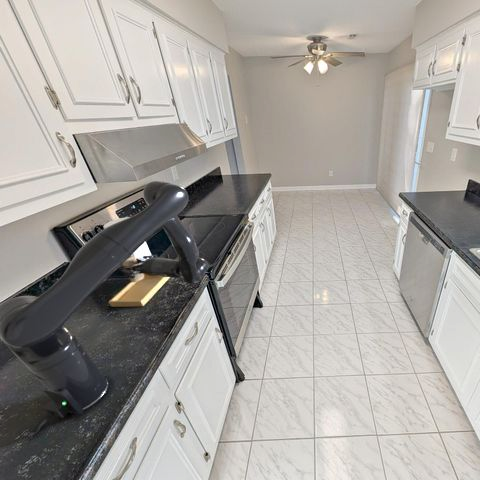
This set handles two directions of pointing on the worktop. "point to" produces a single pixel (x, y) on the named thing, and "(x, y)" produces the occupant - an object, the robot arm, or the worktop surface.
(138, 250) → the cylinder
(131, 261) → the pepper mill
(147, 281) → the tray
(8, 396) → the worktop surface
